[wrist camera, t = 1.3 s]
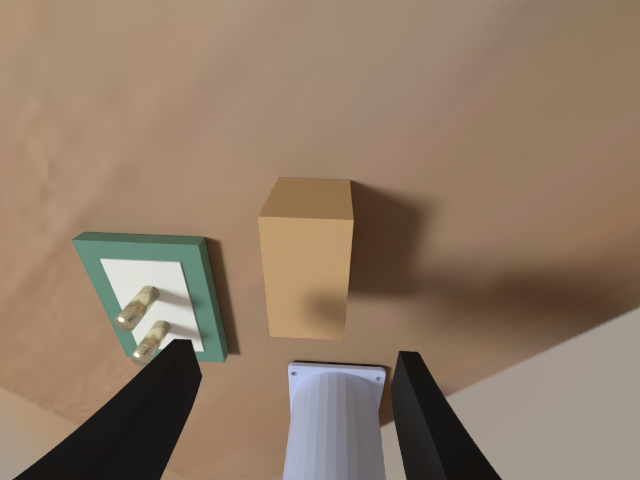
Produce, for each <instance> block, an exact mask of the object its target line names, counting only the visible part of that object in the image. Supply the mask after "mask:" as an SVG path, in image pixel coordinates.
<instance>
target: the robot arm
mask: <svg viewBox="0 0 640 480" xmlns="http://www.w3.org/2000/svg"><path fill="white" fill-rule="evenodd" d="M288 375H289V392H290V409H291V421H290V429H289V436H288V444H287V451H286V459H285V466H284V473H283V480H386V475H385V466H384V458H383V449H382V440H381V432H380V423H379V414H378V411H379V406H380V402H381V397H382V392H383V387H384V382H385V377H386V371H385V369H384V368H382V367H370V366H352V365H334V364H317V363H299V362H292V363H290V364H289V367H288ZM201 379H202V374H201V371H200V367H199V364H198V361H197V357H196V354H195V351H194V347H193V344H192V340H190V339H173V340H172V341H171V342H170V343H169V344H168V345H167V346H166V347H165V348H164V349H163V350H162V351H161V352H160V353H159V354H158V355H157V356H156V357H155V358H154V359H153V360H152V361H151V362H149V363H148V364H147V365H146V366H145V367H144V368H143V369H142V370H141V371H140V372H139V373H138V374H137V375H136V376H135V377H134V378H133V379H132V380H131V381H130V382H129V383H128V384H127V385H125V386H124V387H123V388H122V389H121V390H120V391H119V392H118V393H117V394H116V395H115V396H114V397H113V398H112V399H111V400H109V401H108V402H107V403H106V404H105V405H104V406H103V407H102V408H100V409H99V410H98V411H97V412H96V413H95V414H94V415H92V416H91V417H90V418H89V419H88V420H87V421H86V422H85V423H83V424H82V425H81V426H80V427H79V428H78V429H76V430H75V431H74V432H73V433H72V434H70V435H69V436H68V437H67V438H66V439H64V440H63V441H62V442H61V443H60V444H58V445H57V446H56V447H55V448H53V449H52V450H51V451H50V452H48V453H47V454H46V455H45V456H43V457H42V458H41V459H39V460H38V461H37V462H36V463H34V464H33V465H32V466H30V467H29V468H28V469H27V470H25V471H24V472H22V473H21V474H20V475H18V476H17V477H16V478H14V479H13V480H160V479H161V476H162V474H163V472H164V470H165V468H166V465H167V463H168V461H169V459H170V456H171V454H172V452H173V450H174V448H175V445H176V443H177V441H178V439H179V436H180V434H181V432H182V430H183V427H184V425H185V423H186V421H187V418H188V416H189V414H190V412H191V409H192V407H193V404H194V401H195V398H196V395H197V392H198V389H199V385H200V382H201ZM391 393H392V403H393V412H394V421H395V426H396V431H397V436H398V441H399V446H400V450H401V455H402V459H403V465H404V470H405V474H406V479H407V480H502V479H501V478H500V476H499V475H498V474H497V473H496V471H495V470H494V468H493V467H492V466H491V465H490V463H489V462H488V460H487V459H486V458H485V456H484V455H483V454H482V452H481V451H480V449H479V448H478V447H477V445H476V444H475V442H474V441H473V439H472V438H471V437H470V435H469V434H468V432H467V431H466V429H465V428H464V427H463V425H462V423H461V422H460V420H459V419H458V417H457V416H456V414H455V413H454V411H453V410H452V408H451V407H450V405H449V403H448V402H447V400H446V399H445V397H444V395H443V394H442V392H441V390H440V389H439V387H438V385H437V384H436V382H435V380H434V379H433V377H432V375H431V373H430V372H429V370H428V368H427V366H426V365H425V363H424V361H423V359H422V357H421V355H420V354H419V353H418V352H410V351H399V355H398V359H397V363H396V368H395V372H394V377H393V381H392V385H391Z"/></svg>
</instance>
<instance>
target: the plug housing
mask: <svg viewBox="0 0 640 480" xmlns="http://www.w3.org/2000/svg"><path fill="white" fill-rule="evenodd" d="M258 222H259V232H260V242H261V252H262V262H263V272H264V282H265V292H266V302H267V312H268V322H269V332H270V336H275V337H294V338H313V339H332V340H344V332H345V320H346V308H347V295H348V283H349V271H350V259H351V247H352V235H353V223H354V218H353V208H352V198H351V188H350V180H336V179H306V178H278V180H277V182H276V183H275V185H274V187H273V189H272V191H271V193H270V195H269V197H268V199H267V200H266V202H265V204H264V206H263V208H262V210H261V212H260V214H259V215H258Z"/></svg>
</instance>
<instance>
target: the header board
mask: <svg viewBox="0 0 640 480" xmlns="http://www.w3.org/2000/svg"><path fill="white" fill-rule="evenodd" d="M72 242H73V244H74V246H75V248H76V250H77V252H78V254H79V256H80V259H81V261H82V263H83V265H84V267H85V269H86V271H87V273H88V275H89V278H90V280H91V282H92V284H93V286H94V288H95V290H96V292H97V294H98V297H99V299H100V301H101V303H102V305H103V307H104V309H105V311H106V313H107V316H108V318H109V320H110V322H111V324H112V326H113V328H114V330H115V332H116V334H117V337H118V339H119V341H120V343H121V345H122V347H123V349H124V351H125V353H126V356H127V357H131V360H132V361H133V362H134V363H135V364H138V365H141V366H145V365H147V364H148V363H149V362H150V361H151V359H152V358H155V357H156V356H157V355H158V354H159V353H160V352H161V351H162V350H163V349H164V348H165V347H166V346H167V345H168V344H169V343H170V342H171V341H172V340H173V339H190V340H192V344H193V347H194V351H195V354H196V357H197V361H207V362H225V360H226V358H227V355H228V347H227V342H226V337H225V332H224V328H223V323H222V318H221V313H220V309H219V304H218V299H217V294H216V289H215V285H214V280H213V275H212V270H211V266H210V261H209V256H208V251H207V246H206V242H205V237H191V236H167V235H143V234H118V233H94V232H83V233H81V234H80V235H78V236H77V237H75V238H74V239H72Z"/></svg>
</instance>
